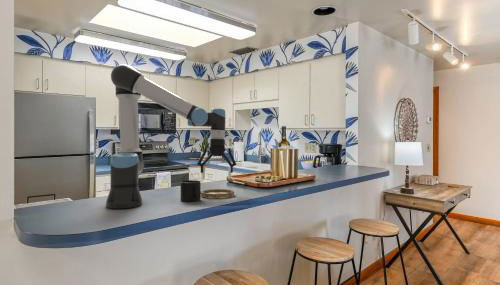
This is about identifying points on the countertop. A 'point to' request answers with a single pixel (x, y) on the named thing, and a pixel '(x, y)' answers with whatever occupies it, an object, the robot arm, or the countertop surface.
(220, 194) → the tray
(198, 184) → the mug
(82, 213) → the countertop surface
